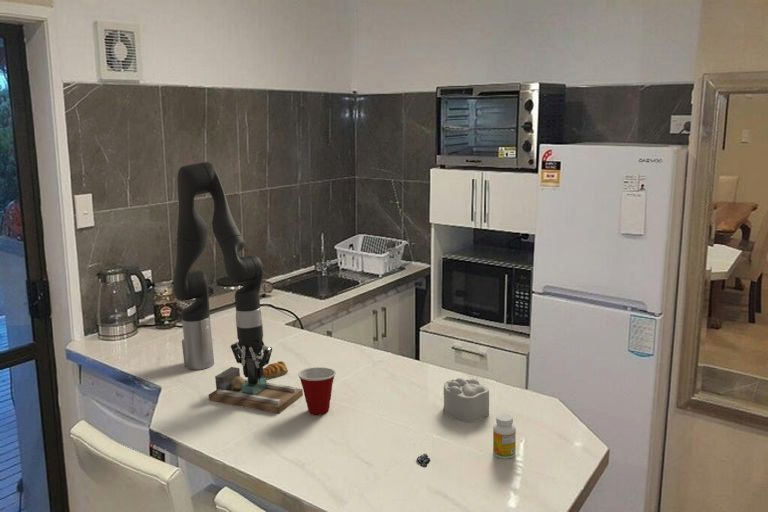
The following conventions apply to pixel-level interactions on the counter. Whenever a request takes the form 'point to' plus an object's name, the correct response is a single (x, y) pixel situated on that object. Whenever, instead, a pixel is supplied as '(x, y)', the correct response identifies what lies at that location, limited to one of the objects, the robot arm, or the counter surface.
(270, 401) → the base
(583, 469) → the counter surface
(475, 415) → the lumpy-topped squat cylinder
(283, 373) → the pastry
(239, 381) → the walnut
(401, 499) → the counter surface
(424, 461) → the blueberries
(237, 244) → the robot arm
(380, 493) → the counter surface
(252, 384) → the jaw
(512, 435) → the supplement bottle
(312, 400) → the plastic cup
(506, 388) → the counter surface
